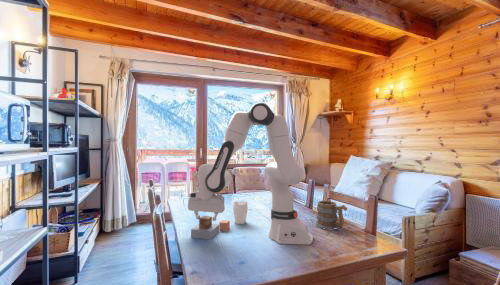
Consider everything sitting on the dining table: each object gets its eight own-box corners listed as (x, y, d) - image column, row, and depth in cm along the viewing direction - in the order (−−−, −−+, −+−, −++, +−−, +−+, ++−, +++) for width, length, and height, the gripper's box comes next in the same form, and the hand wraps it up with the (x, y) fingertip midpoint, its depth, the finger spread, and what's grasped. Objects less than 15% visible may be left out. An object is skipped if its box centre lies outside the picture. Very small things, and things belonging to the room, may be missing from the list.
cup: (239, 219, 152) (239, 200, 152) (250, 221, 147) (250, 202, 147) (229, 222, 145) (230, 203, 145) (241, 225, 139) (241, 205, 139)
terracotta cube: (229, 228, 135) (229, 220, 135) (226, 231, 131) (226, 223, 131) (222, 227, 136) (222, 220, 136) (219, 230, 132) (219, 222, 132)
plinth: (219, 231, 129) (219, 224, 129) (210, 239, 119) (210, 231, 119) (200, 229, 132) (200, 222, 132) (191, 237, 122) (191, 229, 122)
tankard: (311, 224, 143) (311, 199, 143) (326, 221, 148) (326, 197, 149) (337, 235, 125) (337, 207, 125) (353, 232, 131) (353, 204, 131)
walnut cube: (211, 225, 127) (211, 216, 127) (207, 228, 122) (207, 219, 122) (203, 224, 128) (203, 215, 129) (199, 228, 124) (199, 218, 124)
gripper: (226, 193, 126) (226, 219, 126) (192, 191, 132) (192, 216, 131) (222, 196, 120) (222, 223, 120) (186, 193, 126) (186, 219, 125)
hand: (206, 219), depth 126 cm, fingers open, 8 cm apart
